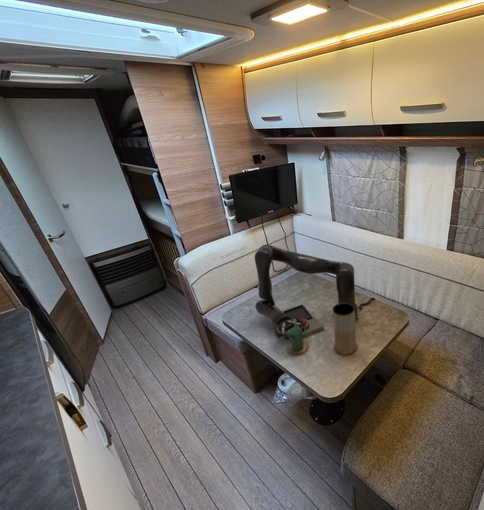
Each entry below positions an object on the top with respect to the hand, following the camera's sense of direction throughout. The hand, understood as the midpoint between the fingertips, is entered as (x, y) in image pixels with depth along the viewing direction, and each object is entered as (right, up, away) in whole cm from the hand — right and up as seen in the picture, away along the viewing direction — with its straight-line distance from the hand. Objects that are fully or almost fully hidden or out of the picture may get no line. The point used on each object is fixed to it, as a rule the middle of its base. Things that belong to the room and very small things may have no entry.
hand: (296, 334), depth 133 cm
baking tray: (-6, +2, +26) cm, 27 cm away
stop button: (+1, +1, +15) cm, 15 cm away
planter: (+24, -7, +3) cm, 25 cm away
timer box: (+5, -2, +17) cm, 17 cm away
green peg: (0, -7, +3) cm, 8 cm away
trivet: (0, -8, +4) cm, 9 cm away
